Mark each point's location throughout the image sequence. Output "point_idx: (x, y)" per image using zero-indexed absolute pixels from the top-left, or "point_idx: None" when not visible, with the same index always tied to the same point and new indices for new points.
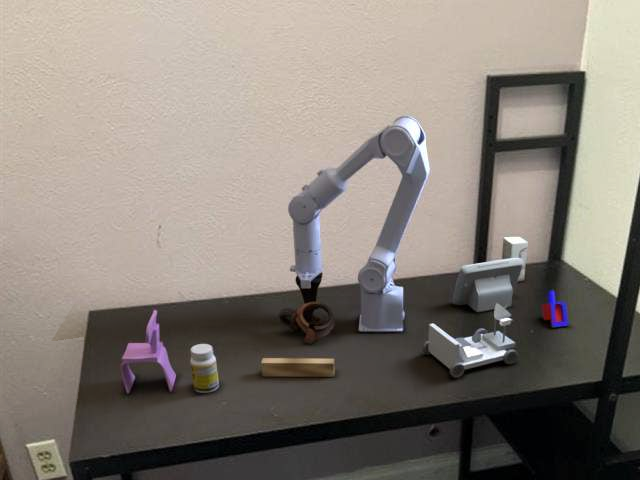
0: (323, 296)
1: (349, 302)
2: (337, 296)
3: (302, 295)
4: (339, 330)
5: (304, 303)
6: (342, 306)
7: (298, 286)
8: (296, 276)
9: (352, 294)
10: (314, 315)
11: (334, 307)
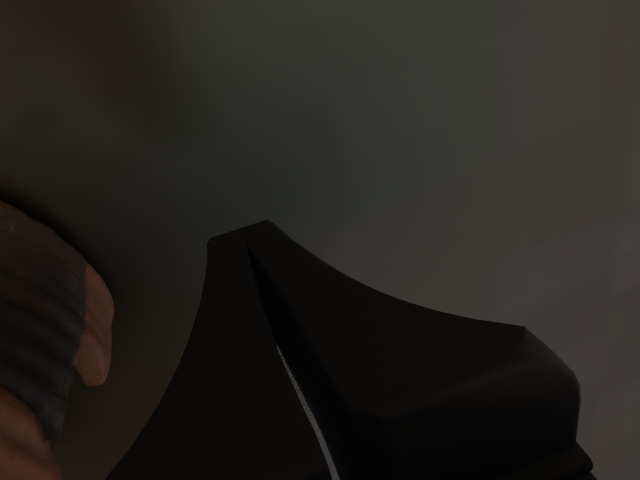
0: (625, 132)
1: (521, 323)
2: (614, 222)
3: (194, 323)
4: (85, 457)
5: (209, 253)
6: (462, 313)
7: (129, 449)
8: (322, 477)
9: (632, 289)
10: (83, 360)
11: (443, 277)
